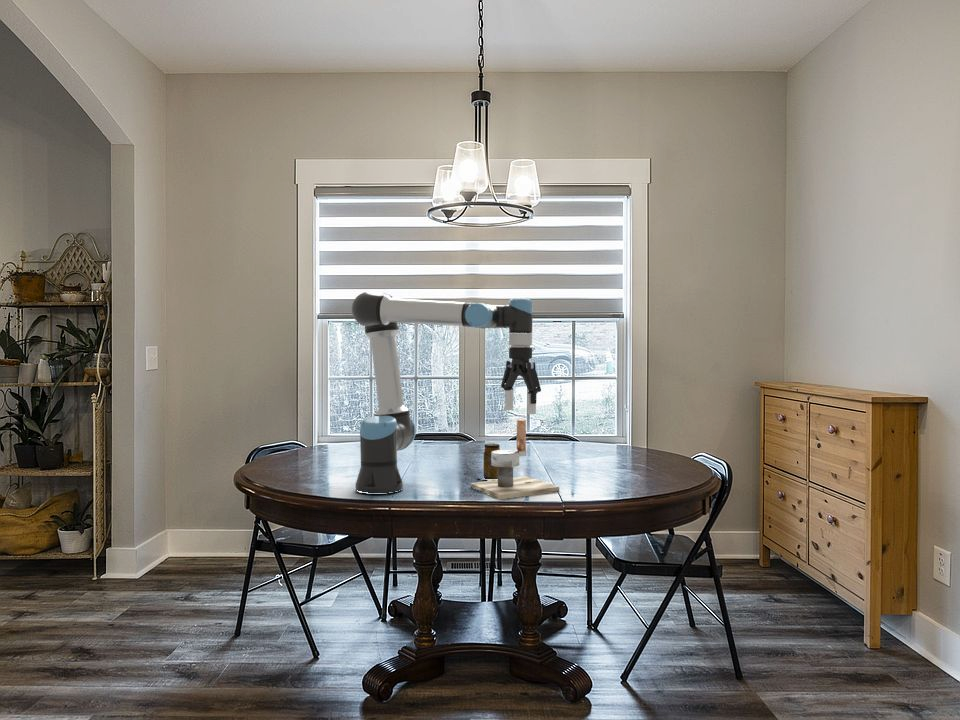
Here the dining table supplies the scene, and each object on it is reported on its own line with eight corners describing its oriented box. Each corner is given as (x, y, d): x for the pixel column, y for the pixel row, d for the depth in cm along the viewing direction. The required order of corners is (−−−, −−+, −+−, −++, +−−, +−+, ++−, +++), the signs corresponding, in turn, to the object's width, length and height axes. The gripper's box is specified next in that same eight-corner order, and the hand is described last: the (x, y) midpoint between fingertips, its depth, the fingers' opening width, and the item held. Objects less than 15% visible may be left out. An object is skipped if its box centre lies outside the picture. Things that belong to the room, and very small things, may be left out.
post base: (470, 487, 223) (470, 463, 223) (526, 480, 234) (526, 457, 234) (500, 499, 207) (500, 473, 207) (559, 491, 218) (559, 466, 217)
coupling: (501, 468, 213) (501, 423, 212) (485, 463, 222) (485, 420, 221) (533, 465, 218) (533, 421, 218) (517, 460, 227) (516, 418, 227)
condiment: (505, 477, 240) (504, 443, 240) (495, 482, 232) (495, 447, 232) (485, 475, 243) (485, 442, 243) (476, 480, 235) (476, 445, 235)
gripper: (552, 347, 212) (551, 415, 213) (510, 345, 234) (509, 407, 234) (532, 347, 208) (531, 416, 209) (491, 345, 230) (490, 408, 231)
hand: (520, 412), depth 222 cm, fingers open, 13 cm apart
